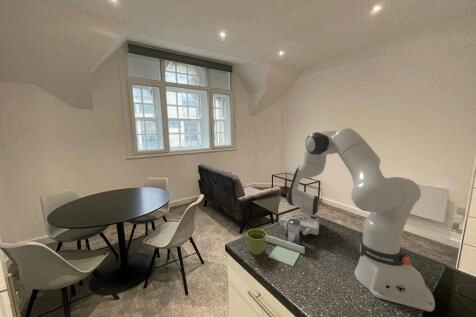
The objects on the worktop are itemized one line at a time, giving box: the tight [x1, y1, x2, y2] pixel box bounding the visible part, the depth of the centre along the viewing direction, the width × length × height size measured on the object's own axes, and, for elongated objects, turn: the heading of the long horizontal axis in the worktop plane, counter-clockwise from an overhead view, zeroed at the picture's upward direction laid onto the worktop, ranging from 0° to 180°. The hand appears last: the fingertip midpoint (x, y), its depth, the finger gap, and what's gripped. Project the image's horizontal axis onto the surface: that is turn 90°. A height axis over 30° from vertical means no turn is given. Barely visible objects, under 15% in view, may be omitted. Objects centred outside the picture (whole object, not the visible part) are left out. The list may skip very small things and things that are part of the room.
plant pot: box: [246, 228, 268, 256], centre depth 90 cm, size 9×9×9 cm
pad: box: [268, 245, 301, 267], centre depth 87 cm, size 11×10×1 cm
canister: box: [287, 219, 301, 245], centre depth 97 cm, size 6×6×11 cm
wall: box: [265, 234, 306, 255], centre depth 94 cm, size 20×1×3 cm, turn 57°
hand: (294, 230), depth 98 cm, fingers open, 8 cm apart
